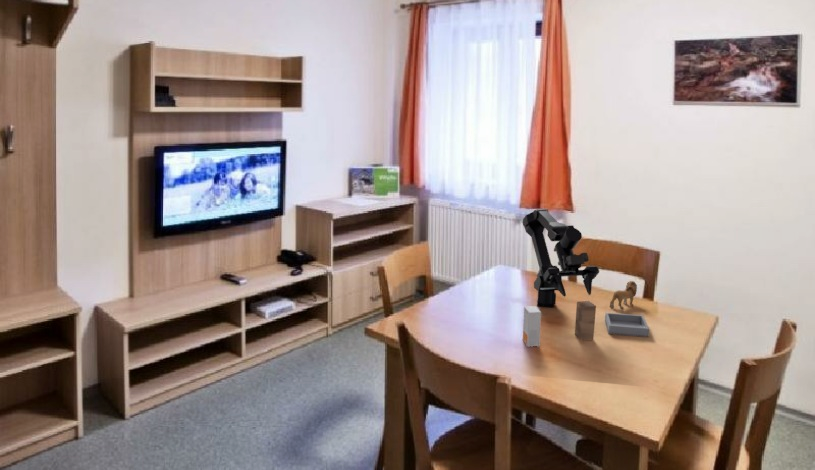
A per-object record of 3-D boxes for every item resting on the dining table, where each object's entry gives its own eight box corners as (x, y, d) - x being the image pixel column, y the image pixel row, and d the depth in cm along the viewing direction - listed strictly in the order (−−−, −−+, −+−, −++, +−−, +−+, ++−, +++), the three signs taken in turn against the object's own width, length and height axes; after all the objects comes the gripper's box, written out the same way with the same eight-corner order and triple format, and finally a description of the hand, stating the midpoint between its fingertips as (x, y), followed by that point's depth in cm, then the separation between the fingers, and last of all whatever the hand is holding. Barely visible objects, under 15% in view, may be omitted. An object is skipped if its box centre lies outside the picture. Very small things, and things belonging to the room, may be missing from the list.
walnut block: (574, 335, 211) (576, 301, 208) (586, 334, 212) (589, 301, 209) (581, 340, 206) (583, 306, 203) (593, 339, 207) (595, 305, 204)
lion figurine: (626, 300, 246) (628, 278, 244) (638, 303, 242) (640, 281, 240) (606, 308, 237) (607, 285, 235) (618, 312, 233) (620, 289, 231)
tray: (608, 333, 212) (609, 325, 211) (604, 320, 224) (605, 312, 224) (648, 337, 209) (649, 328, 209) (642, 323, 222) (643, 315, 221)
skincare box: (522, 339, 207) (523, 305, 204) (534, 339, 207) (536, 305, 204) (527, 347, 201) (528, 312, 198) (539, 346, 201) (541, 312, 198)
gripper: (548, 245, 212) (559, 285, 204) (599, 243, 215) (612, 283, 207) (538, 261, 221) (549, 300, 213) (587, 259, 225) (599, 297, 217)
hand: (577, 295), depth 212 cm, fingers open, 9 cm apart
